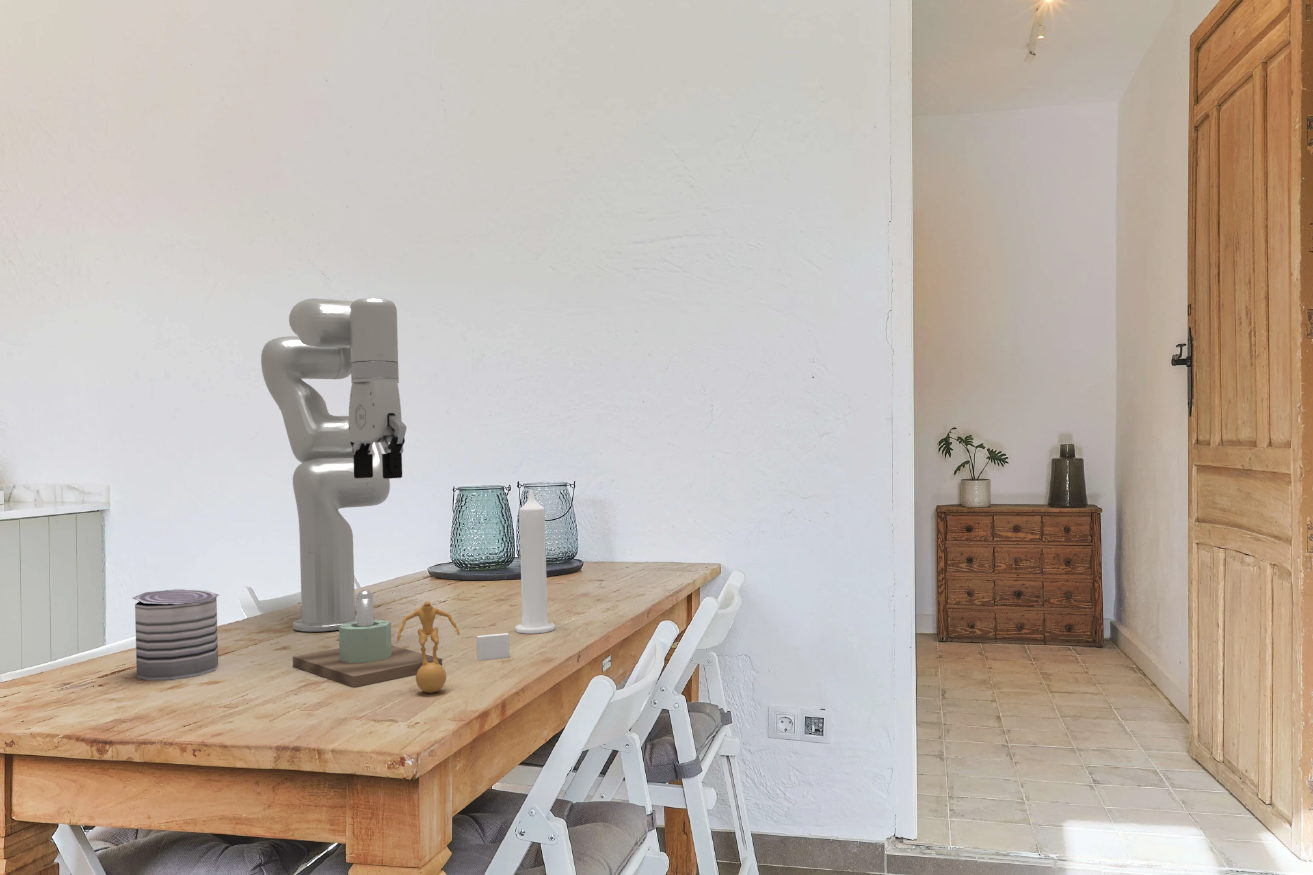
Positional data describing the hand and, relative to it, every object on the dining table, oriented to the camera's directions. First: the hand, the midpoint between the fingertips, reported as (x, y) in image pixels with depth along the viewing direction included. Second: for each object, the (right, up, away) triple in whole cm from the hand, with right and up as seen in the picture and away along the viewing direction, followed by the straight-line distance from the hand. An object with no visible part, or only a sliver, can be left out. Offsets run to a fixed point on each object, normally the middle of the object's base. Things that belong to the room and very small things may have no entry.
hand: (377, 478), depth 157 cm
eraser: (+21, -28, -9) cm, 36 cm away
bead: (+2, -27, -13) cm, 30 cm away
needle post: (+2, -27, -13) cm, 30 cm away
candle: (+24, -28, +13) cm, 39 cm away
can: (-27, -29, -12) cm, 41 cm away
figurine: (+15, -28, -28) cm, 42 cm away
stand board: (+2, -28, -13) cm, 31 cm away
